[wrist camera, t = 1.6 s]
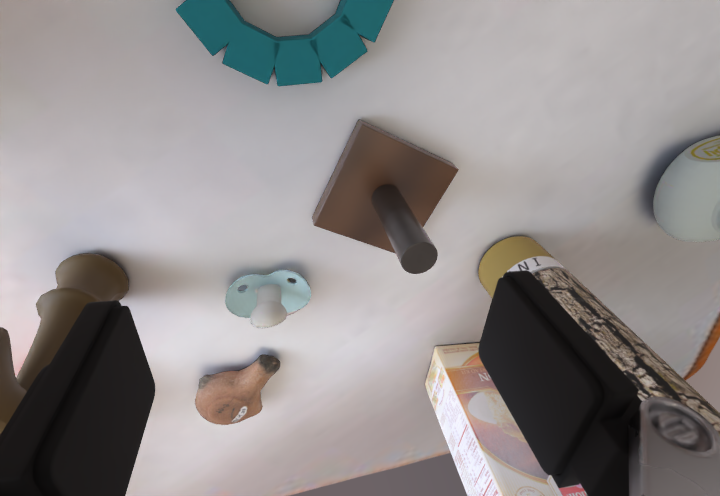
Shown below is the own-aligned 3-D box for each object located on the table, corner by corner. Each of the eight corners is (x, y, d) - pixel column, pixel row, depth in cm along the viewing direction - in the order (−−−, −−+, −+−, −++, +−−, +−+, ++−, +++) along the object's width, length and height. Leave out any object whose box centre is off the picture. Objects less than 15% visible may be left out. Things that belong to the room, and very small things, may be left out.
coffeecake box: (549, 335, 48) (689, 507, 32) (531, 375, 52) (648, 547, 36) (433, 344, 45) (522, 538, 29) (422, 385, 49) (496, 578, 33)
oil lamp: (284, 389, 46) (276, 339, 42) (290, 418, 43) (281, 367, 38) (202, 410, 44) (185, 359, 39) (202, 443, 40) (183, 392, 36)
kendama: (93, 215, 30) (-123, 482, 14) (162, 304, 36) (67, 572, 19) (19, 241, 30) (-285, 538, 14) (99, 325, 36) (-50, 612, 19)
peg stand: (311, 217, 34) (325, 294, 25) (358, 118, 30) (393, 169, 21) (400, 248, 37) (439, 325, 29) (452, 163, 34) (515, 222, 25)
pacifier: (314, 306, 39) (305, 258, 36) (320, 356, 34) (311, 305, 31) (238, 319, 38) (222, 271, 35) (233, 372, 33) (214, 321, 30)
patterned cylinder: (551, 243, 40) (845, 506, 20) (512, 294, 43) (733, 570, 23) (500, 224, 38) (775, 502, 17) (463, 279, 41) (659, 574, 20)
